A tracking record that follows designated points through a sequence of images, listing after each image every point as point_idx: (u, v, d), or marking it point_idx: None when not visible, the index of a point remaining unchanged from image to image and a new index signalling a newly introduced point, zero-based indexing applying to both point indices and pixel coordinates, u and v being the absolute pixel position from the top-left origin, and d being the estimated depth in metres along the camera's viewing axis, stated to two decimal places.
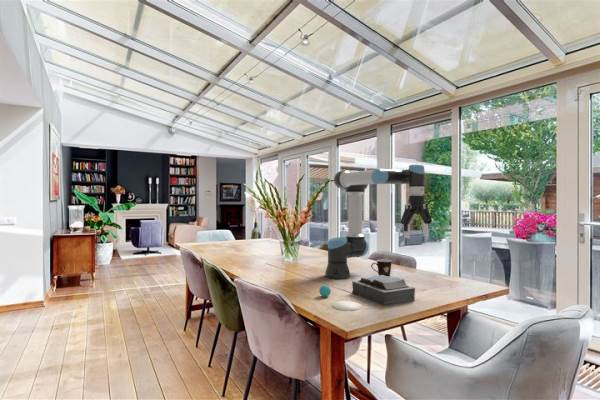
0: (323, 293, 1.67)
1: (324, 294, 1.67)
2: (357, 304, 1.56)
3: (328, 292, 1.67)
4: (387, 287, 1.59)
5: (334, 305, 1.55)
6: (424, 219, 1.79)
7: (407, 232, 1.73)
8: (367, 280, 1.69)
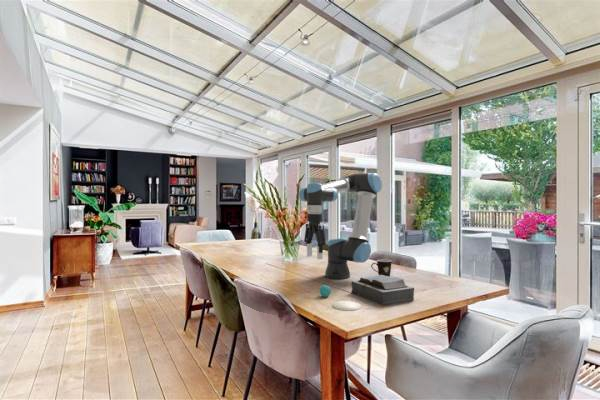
0: (323, 293, 1.67)
1: (324, 294, 1.67)
2: (357, 304, 1.56)
3: (328, 292, 1.67)
4: (386, 287, 1.59)
5: (334, 305, 1.55)
6: None
7: None
8: (366, 280, 1.70)
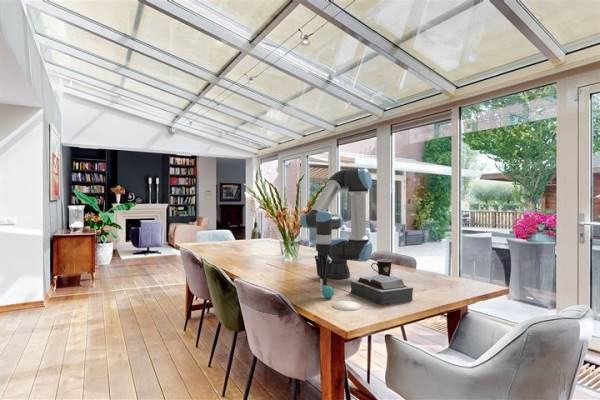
0: (325, 296, 1.65)
1: (326, 297, 1.66)
2: (357, 304, 1.56)
3: (330, 297, 1.66)
4: (384, 286, 1.60)
5: (334, 305, 1.55)
6: None
7: None
8: (365, 280, 1.70)
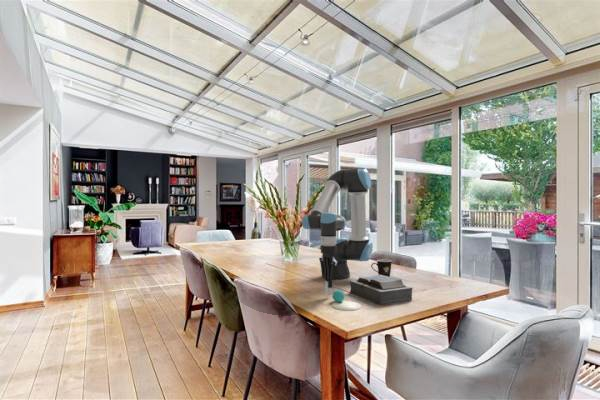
0: (333, 293, 1.61)
1: None
2: (357, 304, 1.56)
3: None
4: (383, 286, 1.60)
5: (334, 305, 1.55)
6: None
7: None
8: (365, 280, 1.70)
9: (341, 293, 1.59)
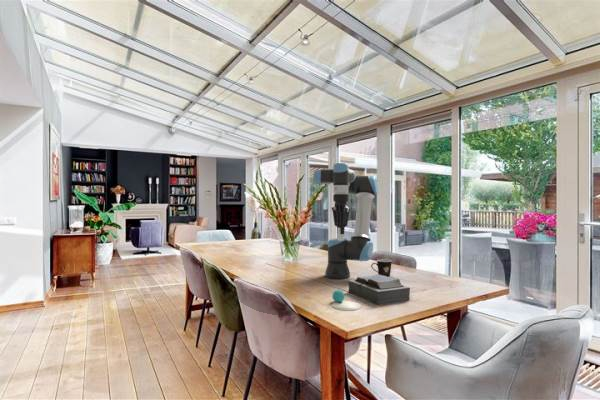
0: (333, 293, 1.61)
1: None
2: (357, 304, 1.56)
3: None
4: (381, 286, 1.60)
5: (334, 305, 1.55)
6: None
7: None
8: (363, 279, 1.71)
9: (341, 293, 1.59)
